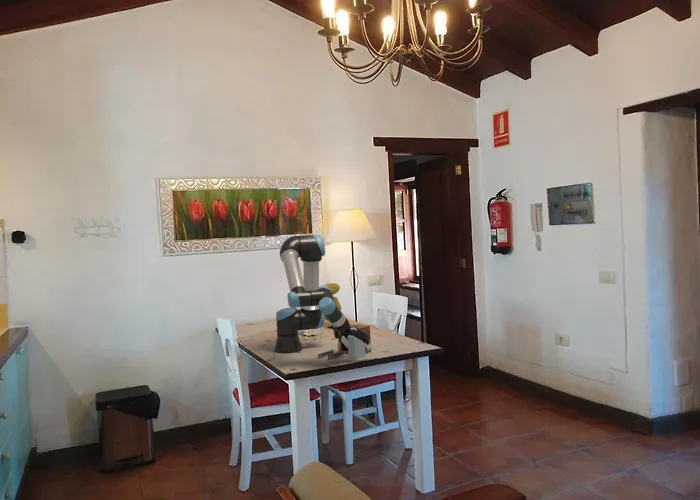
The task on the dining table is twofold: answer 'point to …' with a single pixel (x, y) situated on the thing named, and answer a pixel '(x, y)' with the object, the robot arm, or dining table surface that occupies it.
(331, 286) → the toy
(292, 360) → the dining table surface
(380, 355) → the dining table surface
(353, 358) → the grey rectangular block
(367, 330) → the cabinet
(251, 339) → the dining table surface
